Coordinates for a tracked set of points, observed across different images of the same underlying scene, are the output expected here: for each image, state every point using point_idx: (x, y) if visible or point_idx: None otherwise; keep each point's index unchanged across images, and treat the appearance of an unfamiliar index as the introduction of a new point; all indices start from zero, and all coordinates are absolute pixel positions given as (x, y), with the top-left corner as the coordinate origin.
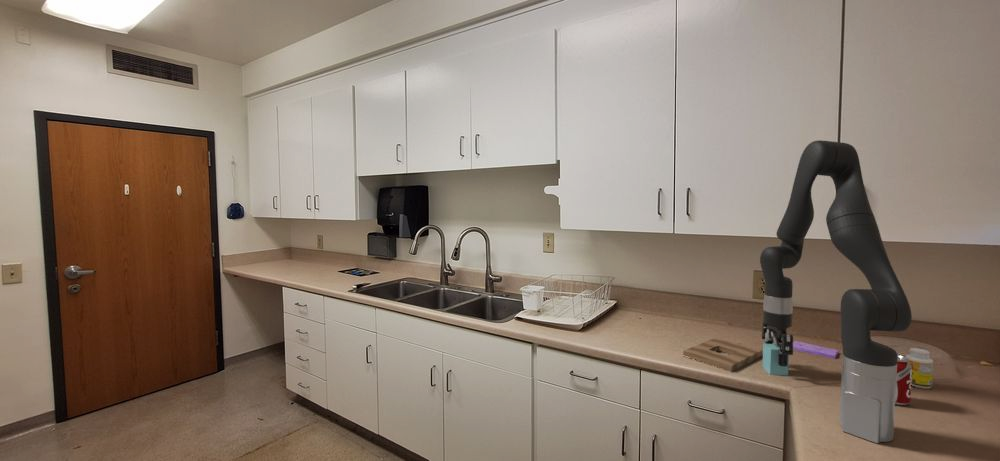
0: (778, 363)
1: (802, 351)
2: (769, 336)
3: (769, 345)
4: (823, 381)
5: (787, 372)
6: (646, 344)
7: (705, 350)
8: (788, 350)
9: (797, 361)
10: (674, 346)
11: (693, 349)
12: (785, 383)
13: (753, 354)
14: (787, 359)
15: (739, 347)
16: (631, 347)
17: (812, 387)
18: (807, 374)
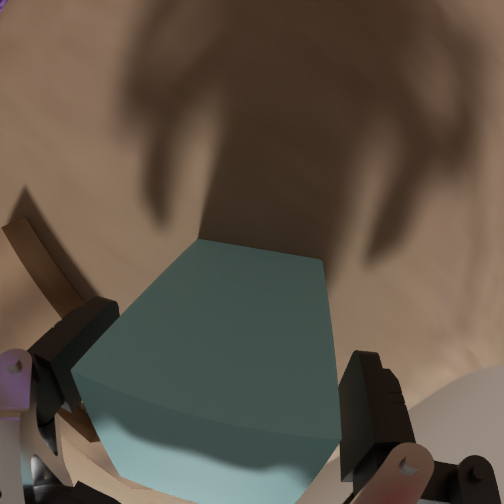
0: (339, 403)
1: (6, 1)
2: (33, 479)
3: (157, 478)
4: (427, 76)
5: (323, 274)
6: (86, 472)
7: (102, 453)
8: (421, 491)
9: (78, 45)
10: (68, 442)
11: (108, 468)
12: (420, 346)
13: None
14: (407, 413)
15: (11, 322)
16: (119, 497)
17: (493, 232)
18: (303, 90)
